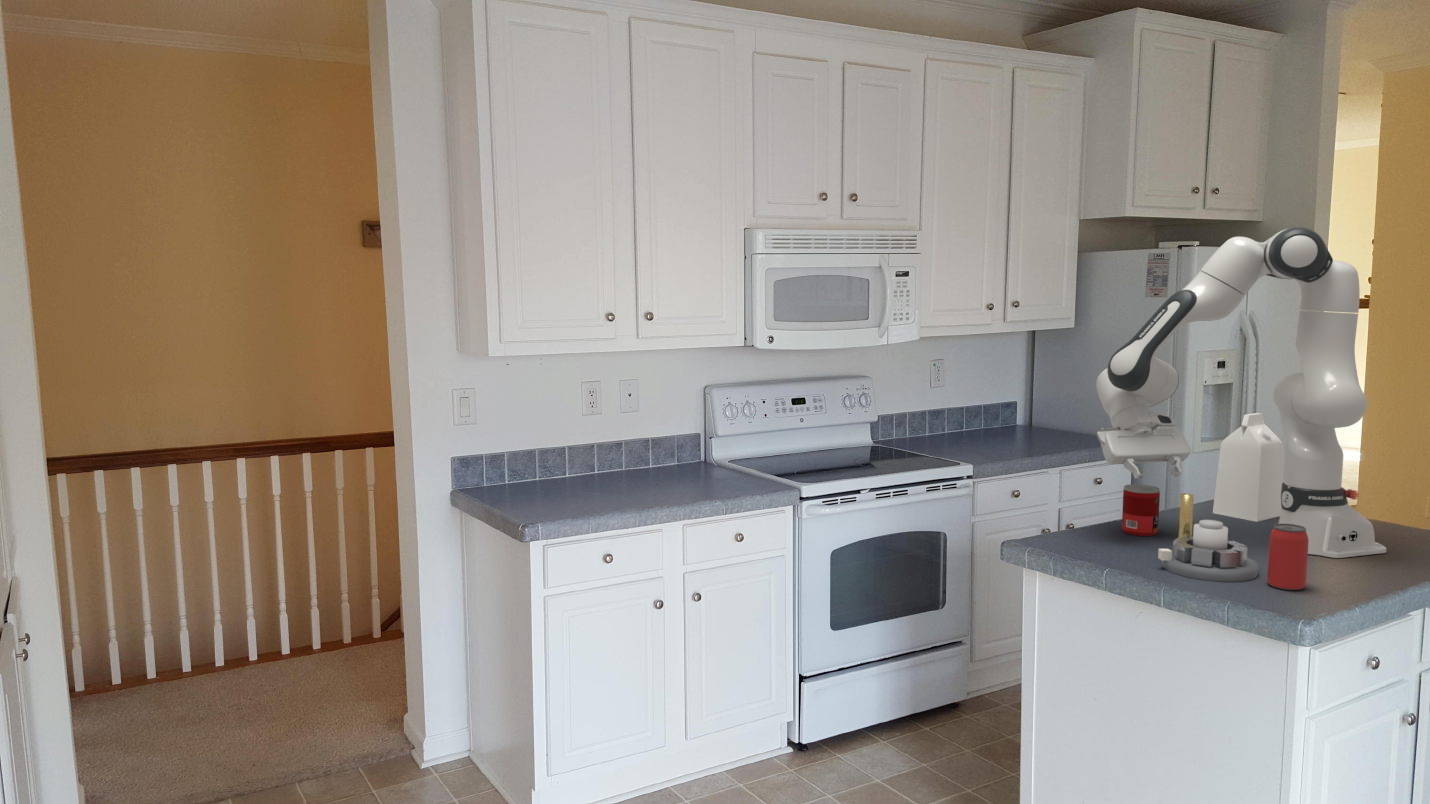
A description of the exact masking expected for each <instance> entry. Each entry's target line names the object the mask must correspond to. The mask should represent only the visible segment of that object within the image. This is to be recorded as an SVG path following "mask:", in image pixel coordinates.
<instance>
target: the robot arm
mask: <svg viewBox="0 0 1430 804" xmlns="http://www.w3.org/2000/svg"><path fill="white" fill-rule="evenodd" d="M1264 276H1269V277H1273V278H1277V279H1281V280H1295V282H1297V283H1298V285H1299V288H1300V290H1301V292H1300V293H1301V295H1300V296H1301V300H1300V305H1299V313H1298V321H1297V332H1296V337H1295V338H1296V339H1295V346H1296V349H1297V352H1298V353H1299V356H1300V361H1301V367H1302V368H1301V369H1302V372H1296V373H1292V374H1289V375H1287V376H1284V377H1283V378H1281V379H1280V380H1279V381H1278V383H1277V384H1276V385H1275V388H1274V390H1273V401H1274V403H1275V405H1276V407H1277V409H1278V412H1279V416H1280V421H1281V427H1282V432H1283V438H1284V448H1285V449H1284V450H1285V454H1284V455H1285V457H1284V458H1285V459H1284V474H1283V483H1282V488H1281V506H1282V508H1281V514H1280V516H1279V518H1278V519H1279V520H1278V523H1277V524H1295V525H1300V526H1303V527H1305V528H1306V533H1307V535H1308V540H1309V542H1308V555H1315V556H1322V557H1328V558H1333V559H1342V558H1343V559H1344V558H1350V557H1352V558H1353V557H1359V556H1369V555H1378V554H1386V553H1387V552H1388V551H1387V547H1386V546H1384V545H1383V544H1381V543H1379V542H1377V541H1375V540H1376V539H1375V537H1376V536H1375V530H1374V529H1375V528H1374V526H1373V524H1372V522H1371V521H1370V520H1369V519H1368V518H1366V517H1365V516H1364V515H1362V513H1360V512H1358V511H1357V510H1356V509H1355V508H1354V507H1352V506H1351V505H1350V504H1349V502H1348V499H1351V500H1357V499H1358V498H1359V496H1360V492H1358V491H1357V490H1355V489H1354V490H1353V489H1350V488H1349V489H1345V488H1344V487H1343V486H1342V483H1343V466H1344V451H1343V448H1342V447H1341V445H1340V444H1339V443H1340V442H1339V440H1338V437H1337V433H1336V429H1339V428H1341V429H1342V428H1346V427H1351V426H1353V425H1355V424H1356V423H1358V422H1359V421H1361V419H1362V418H1363V417H1364V415H1365V414H1366V412H1367V411H1366V410H1367V407H1368V401H1367V397H1366V394H1365V393H1364V391H1363V390H1362V388H1361V386H1360V382H1359V378H1358V369H1357V363H1356V353H1355V352H1356V351H1355V349H1356V347H1355V346H1356V338H1357V337H1356V336H1357V327H1358V321H1359V319H1358V317H1359V311H1360V310H1359V309H1360V299H1361V298H1360V291H1361V290H1360V279H1359V272H1358V269H1356V267H1355V266H1353V265H1352V264H1350V263H1348V262H1345V261H1341V260H1334V259H1333V256H1332V255H1331V253H1330V251H1329V249H1328V247H1327V245H1326V243H1325V241H1324V239H1323V238H1322V236H1321V235H1320V234H1319V233H1317V232H1316V231H1315V230H1312V229H1310V228H1308V227H1304V226H1303V227H1301V226H1296V227H1288V228H1286V229H1282V230H1281V231H1279V232H1277V233H1275V234H1274V235H1272V236H1270V237H1269V238H1267V239H1265V240H1263V241H1262V242H1260V241H1256V240H1254V239H1253V238H1249V237H1246V236H1233V237H1231V238H1229V239H1227V240H1226V241H1225V242H1224V243H1223V244H1222V245H1221V246H1220V247H1219V248H1217V249H1216V251H1214V252H1213V254H1212V255H1211V256H1210V257H1209V258H1208V260H1207V261H1206V262H1205V263H1204V265H1203V266H1202V267H1201V269H1200V271H1199V272H1197V274H1196V275H1195V276H1194V277H1193V279H1191V281H1190V282H1189V283H1188V284H1187V285H1186V286H1185V287H1183V288H1182V289H1181V290H1178V291H1177V292H1175V293H1173V294H1172V295H1170V297H1168V299H1166V300H1165V301H1164V303H1163V304H1162V305H1161V306H1159V308H1158V309H1157V310H1156V311H1155V312H1154V313H1153V314H1152V316H1151V317H1150V318H1149V319H1148V320H1146V322H1145V323H1144V325H1143V326H1142V327H1141V328H1140V329H1139V330H1138V331H1137V332H1136V334H1134V336H1132V338H1131V339H1130V340H1128V342H1126V343H1124V344H1123V345H1122V346H1120V347H1119V348H1118V349H1117V350H1116V351H1114V353H1113V354H1112V355H1111V356H1110V359H1109V361H1108V362H1107V363H1108V364H1107V368H1105V369H1104V370H1103V371H1101V372H1100V373H1099V374H1098V377H1097V378H1096V383H1095V385H1096V386H1095V387H1096V391H1097V394H1098V399H1099V400H1100V403H1101V405H1102V408H1103V409H1104V411H1105V413H1106V414H1107V415H1108V416H1109V421H1110V424H1111V426H1112V427H1101V428H1100V429H1099V430H1098V431H1097V432H1096V437H1097V439H1098V441H1099V443H1100V446H1101V451H1102V454H1103V457H1104V459H1105V461H1106V463H1108V464H1110V465H1123V466H1124V468H1125V469H1126V470H1128V472H1130V473H1132V475H1133V477H1134V479H1142V478H1143V477H1144V476H1145V473H1144V471H1143V469H1142V468H1141V467H1140V468H1139V467H1138V466H1137V464H1151V463H1152V464H1154V463H1169V464H1170V466H1172V467H1171V469H1170V470H1169V473H1170V474H1171V476H1172V477H1175V478H1177V477H1180V476H1181V475H1182V473H1183V472H1182V470H1181V468H1180V464H1181V462H1185V460H1187V458H1189V456H1190V454H1191V451H1192V449H1191V447H1190V444H1189V442H1188V441H1187V439H1186V437H1185V435H1184V434H1183V432H1182V431H1181V430H1180V429H1179V428H1178V427H1176V426H1175V425H1176V421H1175V419H1174V418H1173V417H1171V416H1168V415H1165V414H1164V415H1163V414H1160V413H1157V412H1154V411H1151V410H1149V409H1148V408H1150V407H1154V406H1156V405H1158V404H1160V403H1162V402H1164V401H1166V400H1168V399H1169V398H1171V397H1172V395H1174V394H1175V393H1176V392H1177V389H1178V387H1179V381H1180V377H1179V376H1180V375H1179V372H1178V370H1177V368H1176V367H1174V365H1172V364H1169V363H1168V362H1166V361H1164V360H1162V359H1160V358H1159V357H1156V354H1157V353H1158V351H1160V350H1161V349H1162V347H1163V346H1164V345H1165V344H1166V343H1167V341H1169V340H1170V338H1172V336H1173V335H1174V334H1175V333H1176V331H1178V330H1179V329H1180V328H1181V327H1183V326H1184V325H1188V324H1190V323H1194V322H1214V321H1219V320H1222V319H1225V318H1226V317H1228V316H1230V314H1232V313H1233V312H1234V311H1235V309H1237V308H1238V306H1239V305H1240V303H1241V302H1242V301H1243V300H1244V298H1245V296H1247V294H1248V293H1249V291H1250V290H1251V288H1252V287H1253V286H1254V284H1255V283H1257V281H1258V280H1260V279H1261V278H1262V277H1264Z"/></svg>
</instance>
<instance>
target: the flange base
mask: <svg viewBox="0 0 1430 804" xmlns="http://www.w3.org/2000/svg"><path fill="white" fill-rule="evenodd" d="M1228 535H1229V528H1228V527H1227V526H1226V525H1224V523H1223V522H1222V521H1219V520H1215V519H1201V520H1199V523H1195V524H1193V531H1192V536H1193V546H1194V547H1197V548H1204V549H1210V550H1227V541H1228ZM1157 552H1158V554H1157V555H1158V556H1157V558H1158V559H1159V560H1161V567H1162V568H1163V569H1164V570H1166V571H1168V572H1170V573H1173V574H1175V575H1178V576H1181V577H1185V578H1190V579H1195V580H1200V581H1201V580H1202V581H1207V582H1208V581H1209V582H1222V583H1235V582H1245V581H1251V580H1254V579H1256V578H1257V576H1258V573H1259V564H1258V562H1257V561H1255V560H1254V559H1251V558H1249V557H1248V556H1247V562H1246V563H1245V564H1244V565H1243V566H1240V565H1238V567H1226V568H1220V567H1217V566H1215V565H1213V566H1212V567H1207V566H1201V565H1195V564H1191V562H1183V561H1181V560H1179V559H1177V558H1175V557H1174V555H1173V549H1170V548H1158V551H1157Z"/></svg>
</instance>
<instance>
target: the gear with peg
mask: <svg viewBox="0 0 1430 804" xmlns="http://www.w3.org/2000/svg"><path fill="white" fill-rule="evenodd" d="M1194 498H1195V494H1193V493H1189V492H1182V493H1180V498H1179V499H1180V501H1179V520H1178V522H1179V523H1178V537H1177V538H1175V539H1174V540H1173V541H1172V550H1173V555H1174V557H1175V558H1177V559H1179V560H1181V561H1183V562H1191V564H1195V565H1201V566H1207V567H1212V566H1213V565H1215V566H1217V567H1220V568H1226V567H1238V565H1240V566H1243V565H1244V564H1245V563H1246V562H1247V557H1248V546H1247V545H1246V544H1243V543H1240V542H1238V541H1235V540H1227V550H1210V549H1204V548H1197V547H1194V546H1193V523H1194V522H1193V520H1194V518H1193V516H1194V500H1195V499H1194Z"/></svg>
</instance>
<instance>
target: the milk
mask: <svg viewBox="0 0 1430 804" xmlns="http://www.w3.org/2000/svg"><path fill="white" fill-rule="evenodd" d="M1242 418H1243V420H1242V423H1241V426H1240V427H1238V428H1237V429H1235V430H1234V431H1233V432H1231V433H1230V434H1229V435H1228V436H1227V437H1225V438H1224V439H1223V440H1222V442H1221V443H1220V446H1219V447H1220V448H1219V457H1218V466H1217V473H1216V481H1215V482H1216V483H1215V488H1214V489H1215V490H1214V491H1215V492H1214V497H1213V499H1214V500H1213V508H1212V514H1216V515H1221V516H1226V517H1230V518H1236V519H1242V520H1245V521H1251V522H1255V523H1257V522H1262V521H1265V520H1269V519H1274V518H1278V517H1279V518H1280V514H1281V508H1282V506H1281V488H1282V483H1283V482H1284V444H1283V442H1282V441H1281V439H1280V438H1279V436H1277V435H1276V434H1275V432H1273V431H1272V430H1271V429H1270V427H1268V426H1267V425H1266V424H1265V420H1264V416H1263V413H1261V412H1256V413H1255V412H1254V413H1248V414H1244V415H1243V417H1242Z"/></svg>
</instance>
